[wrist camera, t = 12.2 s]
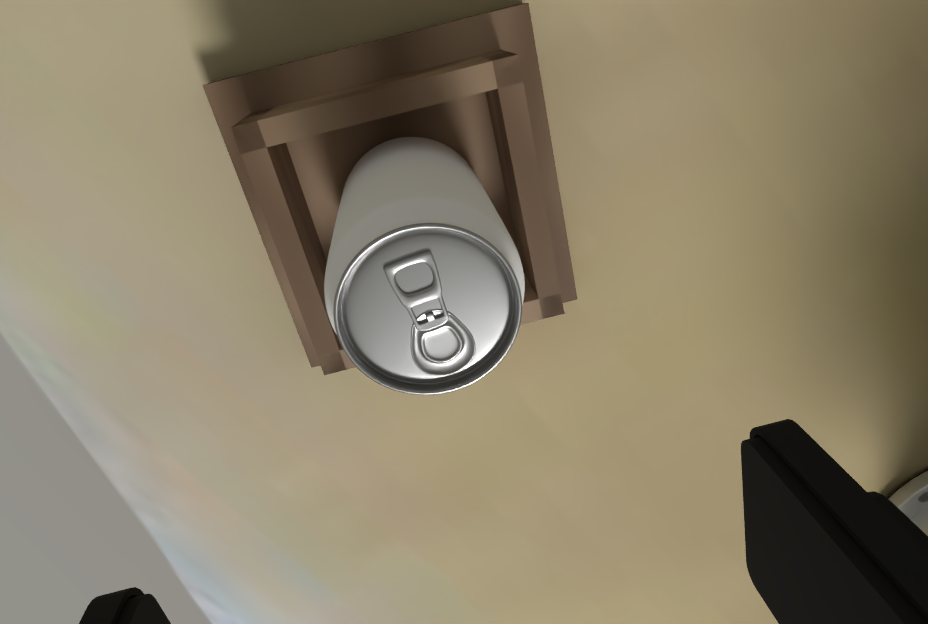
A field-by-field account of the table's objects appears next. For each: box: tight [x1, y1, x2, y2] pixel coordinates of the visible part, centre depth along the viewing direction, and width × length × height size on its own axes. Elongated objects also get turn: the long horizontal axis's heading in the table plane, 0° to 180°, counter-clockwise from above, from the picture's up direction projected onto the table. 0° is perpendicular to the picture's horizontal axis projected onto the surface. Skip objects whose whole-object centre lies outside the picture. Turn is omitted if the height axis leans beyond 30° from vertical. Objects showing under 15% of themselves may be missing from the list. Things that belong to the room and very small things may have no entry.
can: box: [324, 137, 525, 395], centre depth 24 cm, size 6×6×12 cm
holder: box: [203, 3, 577, 375], centre depth 29 cm, size 14×14×5 cm
